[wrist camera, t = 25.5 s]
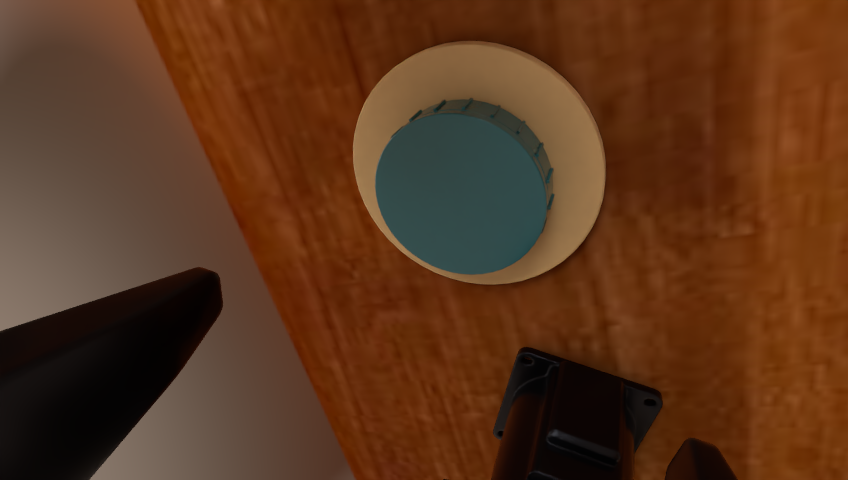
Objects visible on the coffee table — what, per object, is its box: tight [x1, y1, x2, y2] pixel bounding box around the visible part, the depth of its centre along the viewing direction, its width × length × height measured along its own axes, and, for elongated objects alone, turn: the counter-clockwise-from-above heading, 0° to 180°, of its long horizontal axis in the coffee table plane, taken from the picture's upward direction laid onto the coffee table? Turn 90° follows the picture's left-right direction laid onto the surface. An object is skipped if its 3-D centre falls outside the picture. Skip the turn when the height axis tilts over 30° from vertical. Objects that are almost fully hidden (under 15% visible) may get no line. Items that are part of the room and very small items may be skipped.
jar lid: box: [375, 98, 555, 275], centre depth 20 cm, size 7×7×2 cm
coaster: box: [353, 41, 606, 285], centre depth 20 cm, size 10×10×1 cm
